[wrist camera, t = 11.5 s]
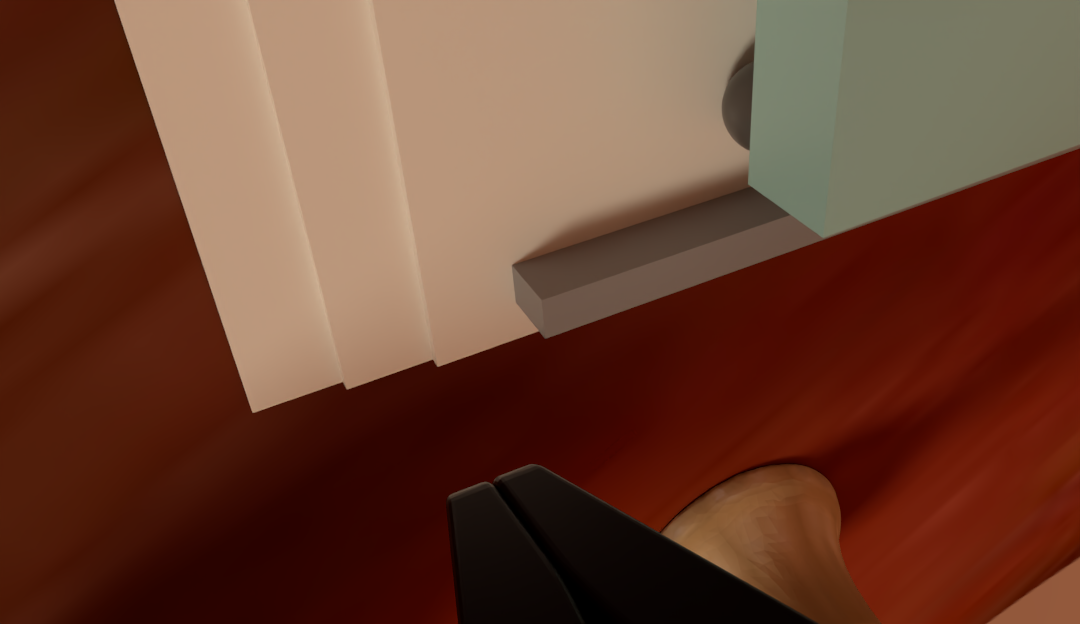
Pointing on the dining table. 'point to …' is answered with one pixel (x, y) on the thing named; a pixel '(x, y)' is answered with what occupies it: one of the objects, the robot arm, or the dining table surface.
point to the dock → (448, 170)
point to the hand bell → (777, 540)
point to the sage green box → (900, 100)
